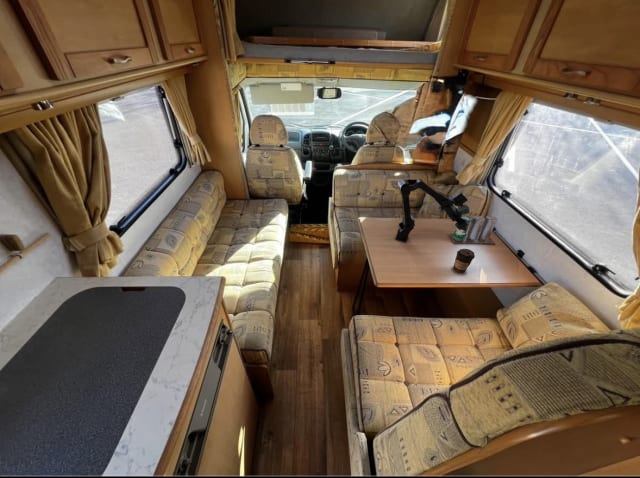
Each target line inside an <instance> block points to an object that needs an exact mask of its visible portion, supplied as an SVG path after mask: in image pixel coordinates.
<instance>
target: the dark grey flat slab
mask: <svg viewBox="0 0 640 478" xmlns="http://www.w3.org/2000/svg"><path fill="white" fill-rule="evenodd" d="M453 234H454V233H448V237H449V238H450V240H451V241H452V242H453V244H454V245H485V246H486V245H487V246H489V245H492V246H495V244H496V242H495V241H494V240H493V239H492V238H491V237H490V236H489V239H488V240H487V241H481V240H479V239H478V238H476V240H475V241H470V240H468V239H466V235H467V233H466V235H465V237H464V240H463V241H457V240H455V239H453ZM477 237H478V236H477Z"/></svg>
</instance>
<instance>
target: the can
mask: <svg viewBox="0 0 640 478" xmlns="http://www.w3.org/2000/svg"><path fill="white" fill-rule="evenodd" d="M460 218H461V219H465V220H466V221H467V222H468V223H469V225H467V226H466V227H467V231H464V230H458V228H457V227H456V226H455V230H454V232H453V233H452V234H453V239H455V240H457V241H463V240H464V237H465V235H466V234H467V232H468V230H469V227H470V225H471V222H472V220H473V218H472V217H470V216H468V215H466V214H464V215H462V217H460ZM459 220H460V219H459Z"/></svg>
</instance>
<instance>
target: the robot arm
mask: <svg viewBox="0 0 640 478" xmlns="http://www.w3.org/2000/svg"><path fill="white" fill-rule="evenodd" d="M397 187H398V190H399V193H400V196H401V205H402V213H403V217H402V218H401V221H400V222H399V223H397V227H398V229H397V231H396V235H395V238H394V239H395V240H396V241H398V242H399V241H400V242H403V243H406V242H407V241H408V239H409V235H410V234H411V232H412V230H414V229H415V226H416V224H415V223H416V220H415V218H414V217H413V215H412V214H411V202H410V195H411V193H412V192H414V191H416V190H418V189H420V190H422V191H423V192H425V194H427V195H429V196H430V197H431V198H433V200H434V201H435V202H437V204H438V205H439V206H438V210H439V212H443V211H444V212H445V214H446V215H447V217H448V218H449V219H450V220H451V222H453V223H454V222H455V224H454V226H455V228H456V227H457V228H458V230H464V231H467V232H468V230H467V227H466V226H467V225H469V223H468V222H467V221H466V220H465V219H461V218H460V217H462V215H467V214H470V213H471V211H470V207H469V206H468V205H467V204H465V203H467V202H468V201H469V200H468V198H467V197H466V196H465V195H464V194H463V193H462V192H461V191H459V192H458V193H457V194H455V195H454V196H452V195H448V194H446V193H444V192H441V191H438V190H436V189H434V188H433V187H432V186H431V185H429V184H428V183H426V182H425V181H424V180H423V179H422V178H417V179H416V178H413V179H412V178H409V179H404V178H403V179H400V180H399V181H398V182H397ZM459 219H460V220H459ZM469 226H470V225H469Z"/></svg>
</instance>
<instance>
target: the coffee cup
mask: <svg viewBox="0 0 640 478" xmlns="http://www.w3.org/2000/svg"><path fill="white" fill-rule="evenodd" d="M474 259H476V255H475V252H474V251H473V250H471V249H468V248H460V249H459V250H457V251H456V256H455V259H454V263H453V267H452V271H453V272H454V273H456V274H458V275H465V274H466V271H467V269H468V268H469V266H470V265H471V263H472V262H473V260H474Z"/></svg>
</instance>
